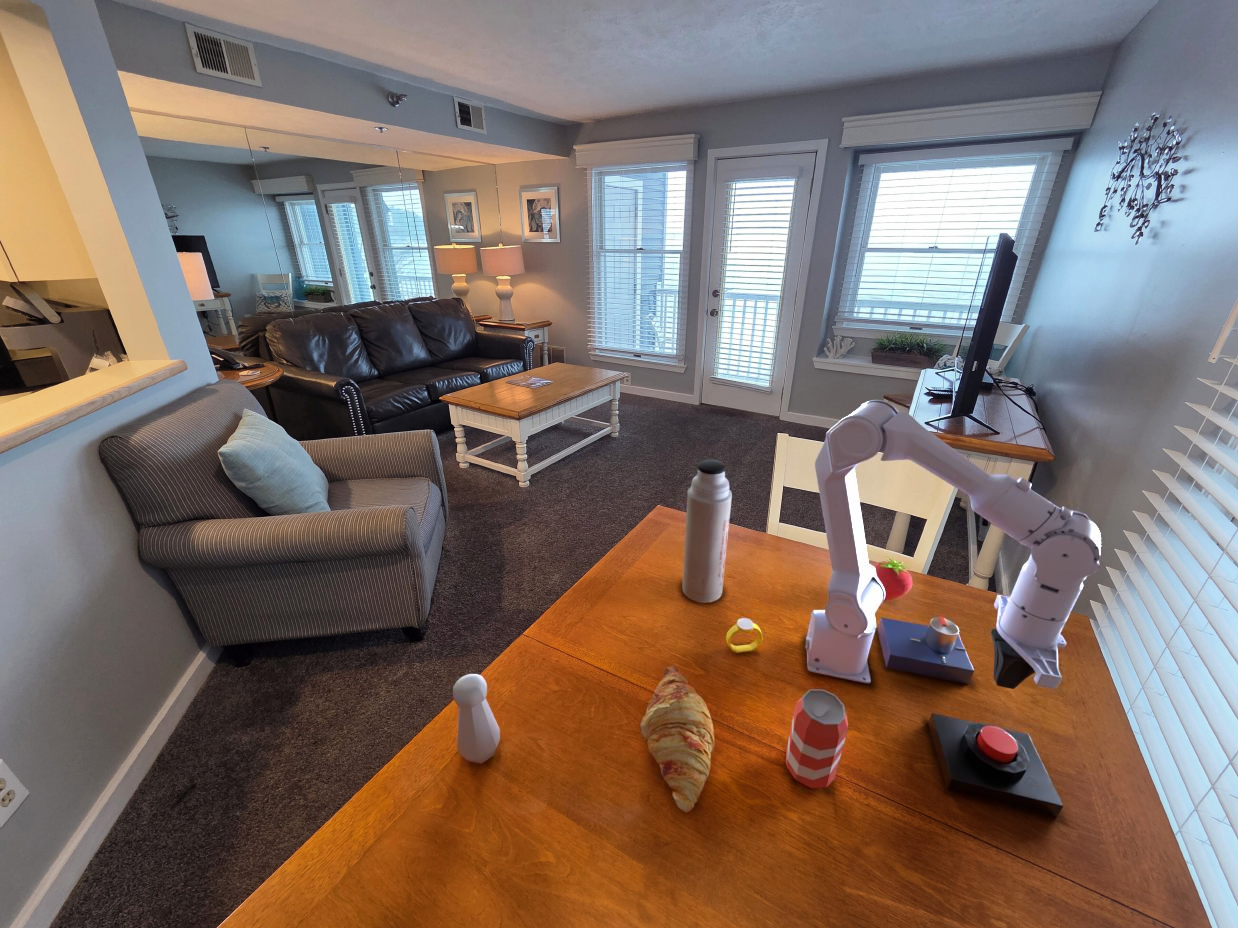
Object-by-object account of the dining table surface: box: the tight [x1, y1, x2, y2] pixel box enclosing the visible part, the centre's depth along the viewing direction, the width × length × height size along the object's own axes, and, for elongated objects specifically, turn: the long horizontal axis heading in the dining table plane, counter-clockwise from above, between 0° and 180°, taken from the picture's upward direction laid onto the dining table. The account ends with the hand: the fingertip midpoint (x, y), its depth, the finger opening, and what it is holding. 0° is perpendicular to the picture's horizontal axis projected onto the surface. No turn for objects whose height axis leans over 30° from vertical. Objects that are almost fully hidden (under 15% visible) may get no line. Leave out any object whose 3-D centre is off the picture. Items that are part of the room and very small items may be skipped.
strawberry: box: [874, 556, 913, 601], centre depth 96 cm, size 6×8×10 cm
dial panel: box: [877, 617, 975, 685], centre depth 84 cm, size 12×9×3 cm
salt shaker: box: [452, 673, 501, 765], centre depth 67 cm, size 6×6×13 cm
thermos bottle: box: [681, 459, 733, 604], centre depth 95 cm, size 8×8×28 cm
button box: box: [927, 712, 1064, 818], centre depth 67 cm, size 12×10×4 cm
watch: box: [725, 617, 764, 654], centre depth 85 cm, size 6×3×6 cm, turn 95°
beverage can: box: [785, 688, 849, 789], centre depth 65 cm, size 6×6×12 cm
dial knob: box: [925, 615, 960, 653], centre depth 82 cm, size 4×4×4 cm
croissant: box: [639, 666, 715, 813], centre depth 70 cm, size 21×10×8 cm, turn 1°
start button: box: [977, 726, 1018, 763], centre depth 66 cm, size 4×4×2 cm
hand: (1003, 683), depth 68 cm, fingers closed
